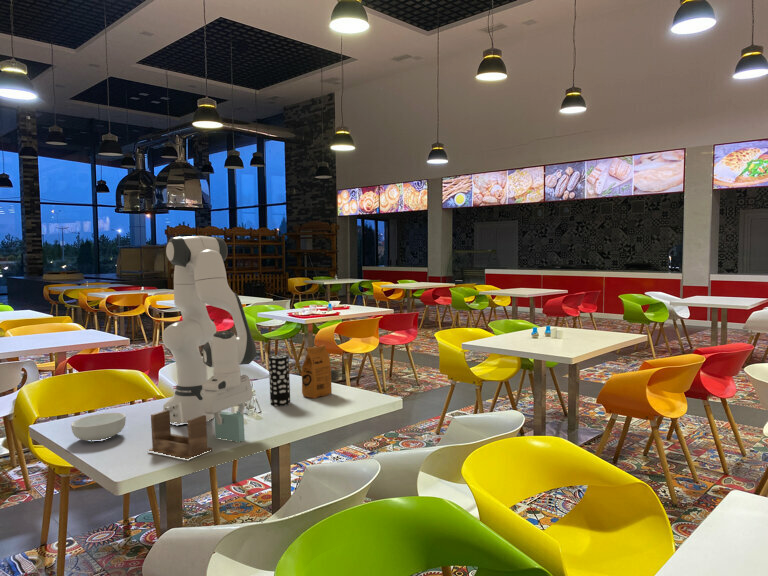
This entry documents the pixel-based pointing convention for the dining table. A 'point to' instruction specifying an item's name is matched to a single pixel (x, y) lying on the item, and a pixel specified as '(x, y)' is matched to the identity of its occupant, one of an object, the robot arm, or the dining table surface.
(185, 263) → the robot arm
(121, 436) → the dining table surface
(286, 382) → the spotted tube
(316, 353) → the coffee package
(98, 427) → the cereal bowl
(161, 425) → the wooden u-shaped stand
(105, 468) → the dining table surface
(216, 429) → the door panel
